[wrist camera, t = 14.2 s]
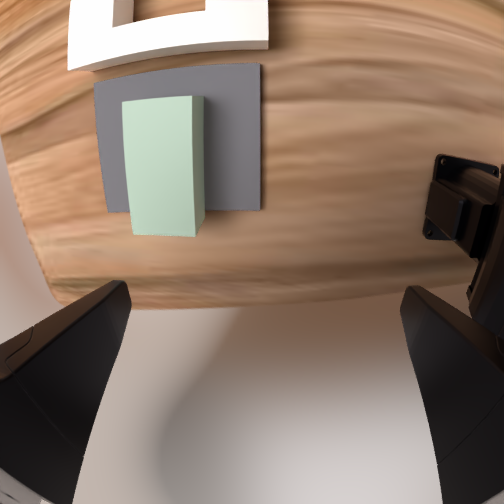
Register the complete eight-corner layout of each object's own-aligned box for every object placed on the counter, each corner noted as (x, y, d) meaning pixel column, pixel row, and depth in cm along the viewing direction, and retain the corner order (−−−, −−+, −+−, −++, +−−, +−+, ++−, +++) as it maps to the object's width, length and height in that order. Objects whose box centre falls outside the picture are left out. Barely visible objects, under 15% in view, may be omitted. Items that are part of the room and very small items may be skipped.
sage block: (203, 96, 16) (192, 95, 14) (205, 217, 20) (195, 236, 18) (142, 100, 17) (122, 102, 14) (149, 216, 20) (133, 234, 18)
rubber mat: (259, 64, 16) (259, 63, 15) (260, 207, 20) (260, 210, 20) (98, 83, 16) (93, 83, 16) (111, 209, 21) (108, 212, 20)
